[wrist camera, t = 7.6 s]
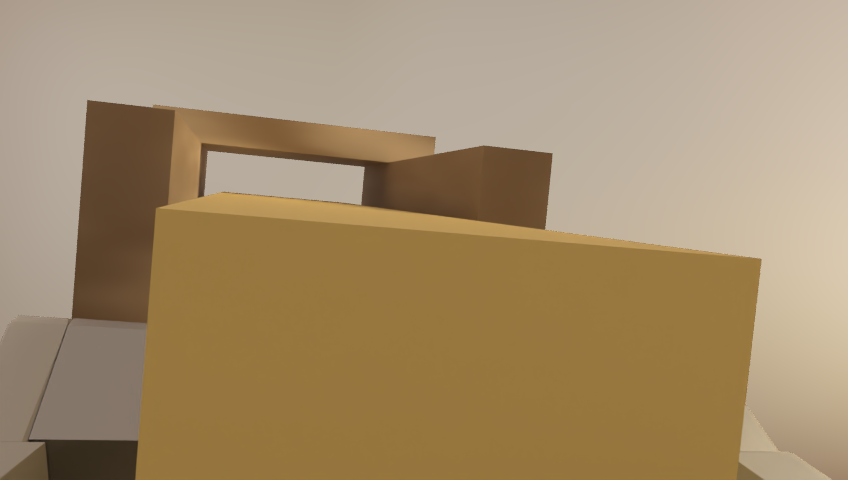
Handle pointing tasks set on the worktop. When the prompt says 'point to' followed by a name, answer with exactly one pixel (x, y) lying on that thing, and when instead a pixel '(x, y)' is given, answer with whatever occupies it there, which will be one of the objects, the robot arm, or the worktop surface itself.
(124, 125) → the birch stand
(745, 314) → the ochre bar
